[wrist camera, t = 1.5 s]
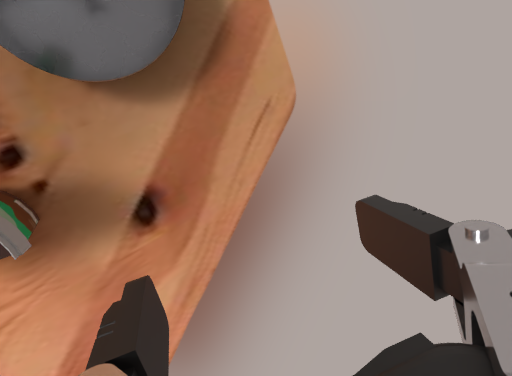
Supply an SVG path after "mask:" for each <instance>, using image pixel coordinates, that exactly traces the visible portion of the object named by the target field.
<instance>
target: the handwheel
mask: <svg viewBox="0 0 512 376" xmlns="http://www.w3.org/2000/svg"><path fill="white" fill-rule="evenodd" d="M183 8H184V0H0V45H1V46H2V47H4V48H5V49H7V50H8V51H9V52H11V53H12V54H14V55H15V56H17V57H18V58H20V59H22V60H23V61H25V62H27V63H29V64H31V65H32V66H34V67H37V68H39V69H41V70H44V71H46V72H49V73H51V74H54V75H58V76H61V77H64V78H68V79H73V80H79V81H87V82H104V81H113V80H118V79H122V78H125V77H128V76H131V75H134V74H136V73H138V72H139V71H141V70H143V69H145V68H146V67H148V66H149V65H150V64H152V63H153V62H154V61H155V60H156V59H157V58H158V57H159V56H160V55H161V54H162V53H163V52H164V51H165V49H166V48H167V47H168V45H169V44H170V42H171V40H172V38H173V36H174V35H175V33H176V31H177V28H178V25H179V23H180V20H181V16H182V12H183Z"/></svg>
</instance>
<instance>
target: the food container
mask: <svg viewBox="0 0 512 376" xmlns="http://www.w3.org/2000/svg"><path fill="white" fill-rule="evenodd" d="M38 221H39V218H38V216H37V215H36V213H35V212H34V210H33V209H32V208H30V207H29V206H28V205H27V204H26V203H25V202H24V201H22V200H21V199H19V198H17V197H15V196H13V195H11V194H9V193H7V192H4V191H0V259H2V258H5V257H8V256H11V255H12V257H13V258H14V259H15V260H16V259H17V258H18V257H19V255H22V254H24V253H25V252H26V251H27V250H28V249H29V248H30V247H31V244H30V243H29V241H28V239H29V237H30V235H31V234H32V232H33V230H34V228H35V227H36V225H37V223H38Z"/></svg>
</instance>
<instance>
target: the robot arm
mask: <svg viewBox="0 0 512 376" xmlns="http://www.w3.org/2000/svg"><path fill="white" fill-rule="evenodd" d="M355 207H356V215H357V221H358V227H359V233H360V238H361V241H362V244H363V246H364V247H365V249H366V250H367V251H368V252H369V253H370V254H372V255H373V256H374V257H376V258H377V259H378V260H380V261H381V262H382V263H384V264H385V265H387V266H388V267H389V268H391V269H392V270H393V271H395V272H396V273H398V274H399V275H400V276H401V277H403V278H404V279H405V280H407V281H408V282H410V283H411V284H412V285H414V286H415V287H416V288H418V289H419V290H420V291H422V292H423V293H425V294H426V295H427V296H429V297H430V298H431V299H433V300H434V301H436V300H439V299H441V298H443V297H446V296H448V295H451V296H453V305H454V310H455V314H456V318H457V322H458V326H459V330H460V334H461V338H462V342H463V343H440V344H433V343H431V341H429V340H428V339H427V338H426V337H425V336H424V335H423V334H422V333H419V334H417V335H414V336H412V337H410V338H408V339H405V340H403V341H401V342H399V343H397V344H395V345H392V346H390V347H388V348H386V349H384V350H383V351H382V352H381V353H379V354H378V355H377V356H376V357H375V358H374V359H372V360H371V361H370V362H369V363H368V364H367V365H365V366H364V367H363V368H362V369H361V370H360V371H358V372H357V373H356V374H355V375H353V376H512V229H511V230H506V229H505V228H504V227H502V226H500V225H498V224H496V223H492V222H488V221H481V220H468V221H462V222H458V223H455V224H454V223H452V222H449V221H447V220H444V219H442V218H439V217H436V216H435V215H432V214H430V213H426V212H425V211H422V210H420V209H419V210H418V209H417V208H415V207H412V206H410V205H408V204H404V203H397V202H392V201H389V200H387V199H385V198H382V197H380V196H378V195H373V196H370V197H367V198H364V199H361V200H359V201H357V202H356V205H355ZM168 365H169V325H168V320H167V316H166V313H165V310H164V308H163V306H162V303H161V301H160V298H159V296H158V294H157V291H156V289H155V286H154V284H153V282H152V280H151V278H150V276H148V275H147V276H144V277H141V278H139V279H136V280H133V281H130V282H127V283H126V284H125V287H124V291H123V295H122V298H121V300H120V301H117V302H115V303H113V304H112V305H111V307H110V308H109V309H108V310H107V312H106V313H105V314H104V316H103V319H102V322H101V325H100V329H99V331H98V334H97V339H96V340H95V343H94V346H93V349H92V352H91V355H90V358H89V361H88V364H87V367H86V370H85V371H84V372H83V373H81V374H80V375H78V376H168Z"/></svg>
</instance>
